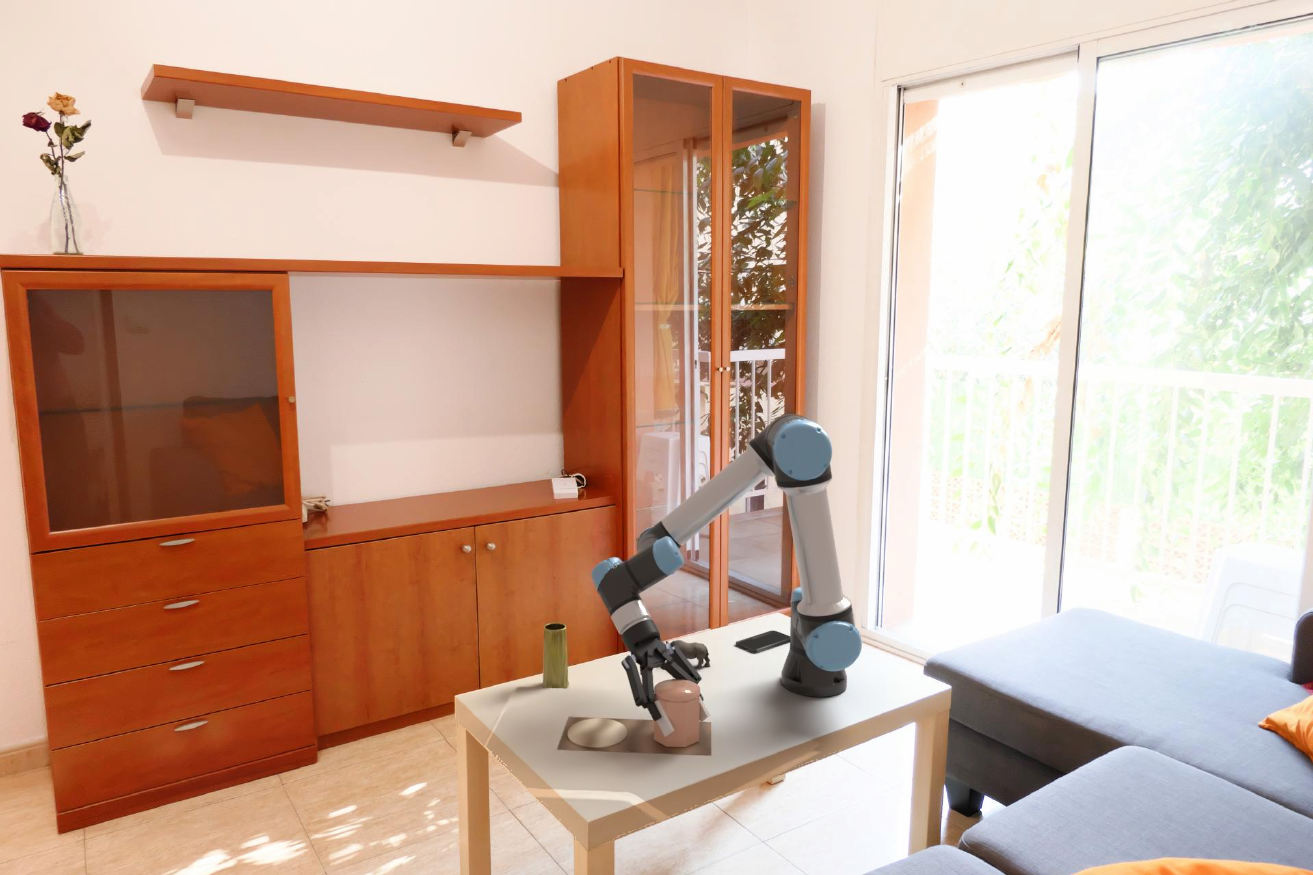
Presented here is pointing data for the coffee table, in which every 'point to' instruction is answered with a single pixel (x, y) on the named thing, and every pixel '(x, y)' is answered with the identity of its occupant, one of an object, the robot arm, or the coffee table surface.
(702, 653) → the rhino figurine
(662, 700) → the domed lid canister
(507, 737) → the coffee table surface
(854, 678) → the coffee table surface
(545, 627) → the vase
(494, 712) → the coffee table surface
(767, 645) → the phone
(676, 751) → the board
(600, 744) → the coaster
